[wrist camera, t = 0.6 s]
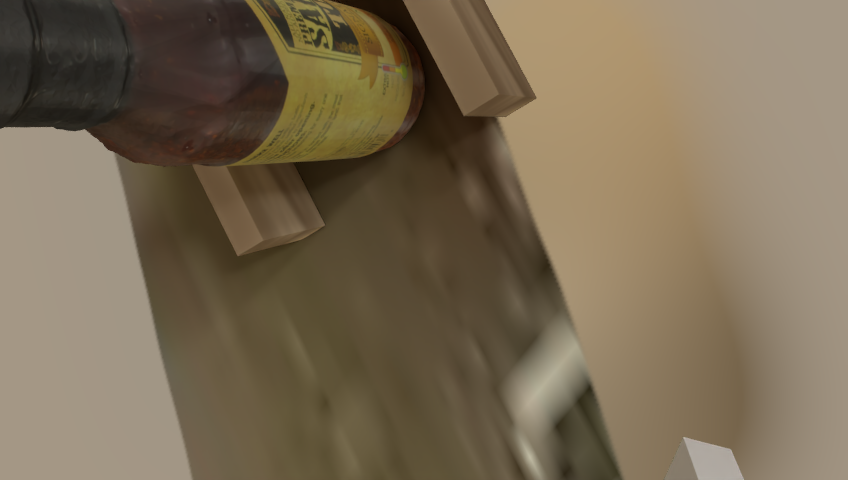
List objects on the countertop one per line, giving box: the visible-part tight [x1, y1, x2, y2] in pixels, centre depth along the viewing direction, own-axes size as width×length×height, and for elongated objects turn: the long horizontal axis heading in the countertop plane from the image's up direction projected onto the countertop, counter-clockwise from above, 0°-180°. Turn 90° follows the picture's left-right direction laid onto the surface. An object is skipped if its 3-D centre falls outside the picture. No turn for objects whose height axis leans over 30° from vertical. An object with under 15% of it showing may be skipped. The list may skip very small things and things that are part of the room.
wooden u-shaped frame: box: [192, 0, 536, 256], centre depth 32 cm, size 13×12×5 cm
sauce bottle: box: [0, 0, 425, 167], centre depth 26 cm, size 6×6×20 cm
